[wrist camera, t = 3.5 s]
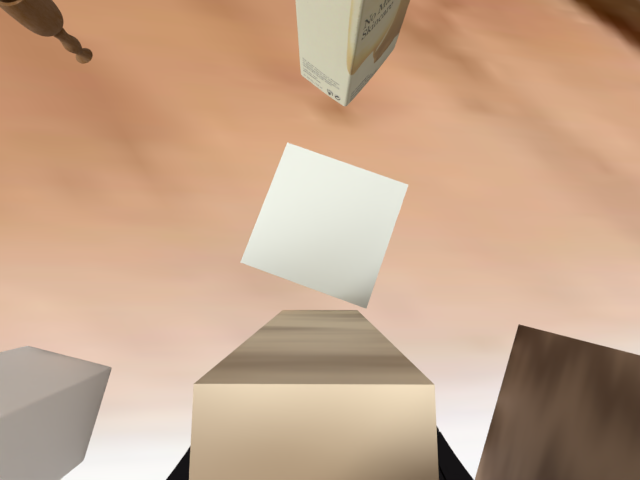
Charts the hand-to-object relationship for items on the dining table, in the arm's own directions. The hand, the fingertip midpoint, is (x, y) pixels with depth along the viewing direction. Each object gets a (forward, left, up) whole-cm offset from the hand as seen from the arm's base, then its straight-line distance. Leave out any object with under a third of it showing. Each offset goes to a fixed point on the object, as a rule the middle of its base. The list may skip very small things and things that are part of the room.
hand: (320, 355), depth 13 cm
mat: (+7, +2, -7) cm, 10 cm away
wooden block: (-1, 0, -7) cm, 7 cm away
